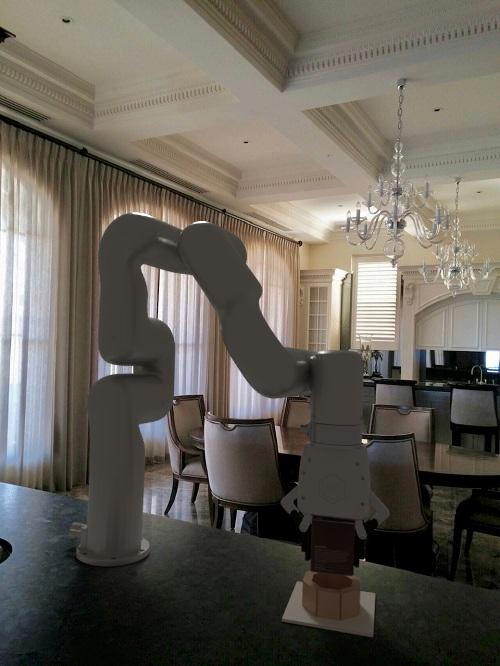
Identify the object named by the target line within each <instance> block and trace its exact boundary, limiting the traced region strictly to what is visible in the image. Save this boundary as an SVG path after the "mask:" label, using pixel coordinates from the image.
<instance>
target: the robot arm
mask: <svg viewBox="0 0 500 666" xmlns="http://www.w3.org/2000/svg"><path fill="white" fill-rule="evenodd" d="M97 253H98V255H97V256H98V260H97V261H98V262H97V264H98V273H99V286H100V287H99V302H98V303H99V305H98V307H99V308H98V330H97V331H98V334H97V335H98V337H97V342H98V343H97V347H98V353H99V355H100V357H101V358H102V360H103V361H105V363H107V364H109V365H114V366H119V367H120V366H121V367H132V372H131V373H128V372H127V373H125V372H124V373H113V374H109V375H108V374H107V375H105V376H102V377H101V378H99V379H98V380H96V381H95V382H94V383H93V385H92V386H91V388H90V389H89V391H88V395H87V399H86V411H87V417H88V422H89V423H88V424H89V431H90V434H89V435H90V454H89V455H90V456H89V478H88V481H89V482H88V497H87V498H88V499H87V515H86V516H87V517H86V519H87V520H86V524H85V523H82V522H77V521H76V522H75V521H74V522H72V523H71V525H70V527H69V530H68V534H67V535H68V537H69V538H73V539H79V540H80V542H79V544H78V546H77V547H76V551H75V555H76V559H78V560H79V561H80V562H82V563H84V564H85V565H86V564H87V565H89V566H95V567H119V566H126V565H130V564H133V563H134V564H135V563H136V562H139V561H140V560H143V559H145V558H146V557H147V556H148V555H149V554H150V552H151V551H150V550H151V548H150V547H151V544H150V542H149V541H148V540H147V539H146V538H144V537H142V536H143V517H144V516H143V515H144V512H143V511H144V495H145V494H144V493H145V491H144V490H145V472H146V471H145V469H146V445H145V441H144V437H143V434H142V433H141V428H140V425H143V424H149V423H150V424H151V423H155V422H158V421H160V420H162V419H164V418H165V417H166V416H167V415H168V414H169V412H170V411H171V410H172V407H173V403H174V399H175V397H174V396H175V384H176V383H175V380H176V378H175V377H176V376H175V375H176V342H175V341H176V340H175V337H174V334H173V332H172V330H171V329H170V326H168V324H167V323H166V322H164V321H163V320H161V319H159V318H155V317H151V316H150V317H149V315H148V314H149V313H148V310H149V309H148V304H149V303H148V301H149V300H148V299H149V291H148V285H147V282H146V278H145V276H144V273H143V270H142V266H145V265H146V266H148V267H151V268H155V269H157V270H158V269H159V270H162V271H165V272H169V273H173V274H179V275H188V276H192V277H193V279H194V280H195V282H196V283H197V284H198V286H199V287H200V289H201V290H202V292H203V294H204V295H205V296H206V298H207V300H208V302H209V303H210V305H211V307H213V309H214V310H215V313H216V315H217V317H218V326H219V330H220V335H221V337H222V342H223V344H224V346H225V349H226V351H227V353H228V354H229V356H230V358H231V359H232V361H233V363H234V365H236V367H237V370H239V371H240V374H241V375H242V377H243V378H244V379H245V381H246V382H247V384H249V386H250V387H251V388H252V390H254V391H255V392H256V393H257V394H259V395H260V396H262V397H264V398H268V399H272V400H274V399H276V400H277V399H284V398H293V397H298V396H300V397H301V396H310V413H309V414H310V417H309V420H310V421H309V422H308V423H306V424H300V427H299V433H300V434H301V435H302V434H303V435H305V436H307V438H308V441H306V442H304V443H303V446H302V452H301V457H300V463H299V464H300V465H299V472H298V474H299V475H298V481H297V482H298V485H297V486H295V487H294V488H292V490H290V491H289V492H288V493H287V494H286V495H285V496H283V498H282V499H281V500H280V506H282V508H283V510H284V511H286V513H288V515H289V516H290V519H292V521H293V522H294V523H295V524H296V525H297V526H298V528H299V531H300V532H301V545H300V546H301V547H300V548H301V549H300V550H301V553H304V561H306V562H309V561H311V528H312V517H313V516H318V517H327V518H336V519H345V520H353V521H355V528H354V530H355V532H354V569H357V568H358V569H359V568H360V561H365V557H366V556H365V555H366V554H365V553H366V539H367V537H368V536H369V535H370V534H371V533H372V532H373V531H375V530H376V529H377V528H378V527H379V526H380V525H381V524H382V523H383V522H384V521H385V520H387V519H388V518H389V517H390V515H391V514H390V512H391V511H390V510H389V508H388V507H387V506H386V505H385V504H384V502H382V501H381V499H380V498H379V497H378V496H377V495H376V494H375V493H374V491H372V490H371V472H370V460H369V454H368V449H367V446H366V445H365V444H363V417H364V415H363V412H364V411H363V409H364V406H363V404H364V367H365V366H364V357H363V356H362V355H361V354H360V353H359V352H357V351H353V350H342V349H340V350H338V349H329V350H328V349H327V350H326V349H322V350H319V351H314V350H307V349H303V348H297V347H296V348H295V347H289V346H284V345H283V344H282V342H281V341H280V340H279V338H278V337H277V336H276V334H275V333H274V331H273V329H272V328H271V327H270V325H269V324H268V322H267V321H266V319H265V317H264V315H263V313H262V310H261V306H260V299H261V298H262V295H263V286H262V284H261V283H260V281H259V279H258V278H257V277H256V276H255V274H254V272H253V271H252V270H251V268H250V267H249V266H248V264H247V262H248V252H247V249H246V245H245V244H244V242H243V241H242V239H241V238H240V237H239V236H238V235H236V234H235V233H233V232H230V231H229V230H227V229H225V228H223V227H221V225H220V226H219V224H218V225H217V224H215V223H213V222H210V221H196V222H193V223H190V224H188V225H187V226H185V227H184V229H181V228H179V227H178V226H175V225H172V224H171V223H168V222H166V221H164V220H162V219H159V218H158V217H156V216H152V215H149V214H147V213H143V212H142V213H141V212H126V213H123V214H121V215H119V216H118V217H116V218H114V219H113V220H112V221H111V222H110V223H109V225H108V226H107V227H106V228H105V230H104V232H103V233H102V236H101V239H100V242H99V245H98V252H97ZM239 371H238V372H239ZM294 501H297V502H296V503H297V506H296V504H295V503H294ZM370 507H372V508H373V509H374V510H375V511H376V512H375V514H374V515H372V516H371V517H370V518H368V517H369V515H370V514H369V513H370V511H371V510H370V509H371V508H370ZM367 518H368V519H367ZM365 519H367V520H366V521H365Z"/></svg>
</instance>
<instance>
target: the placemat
mask: <svg viewBox="0 0 500 666" xmlns="http://www.w3.org/2000/svg"><path fill="white" fill-rule="evenodd" d="M294 585H295V586H294V589H293V591H292V593H291V595H290V597H289V600H288V603H287V604H286V608H285V610H284V611H283V612H284V613H283V615H282V617H281V622H283V623H290V624H293V625H294V624H296V625H299V626H306V627H312V628H318V629H323V630H329V631H335V632H341V633H347V634H351V635H357V636H363V637H369V638H374V631H375V630H374V629H375V607H376V606H375V605H376V593H375V592H369V591H364V590H362V591H361V599H360V613H359V615H358V616H355V617H352V618H348V619H345V620H342V621H341V620H333V619H327V618H321V617H317V616H315V615H313V614H312V613H311V612H309V611H308V610H307V609H305V608H304V607H303V605H302V589H303V581H298V580H297V581H296V582H295V584H294Z"/></svg>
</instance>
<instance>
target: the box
mask: <svg viewBox="0 0 500 666" xmlns="http://www.w3.org/2000/svg"><path fill="white" fill-rule="evenodd" d="M311 524H312V528H311V559H310V570H309V571H311V572H317V573H326V574H336V575H344V576H353V575H354V576H355V573H354V571H355V570H354V569H355V566H354V538H355V521H353V520H345V519H336V518H327V517H318V516H313V517H312V521H311Z"/></svg>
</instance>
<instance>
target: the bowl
mask: <svg viewBox="0 0 500 666" xmlns="http://www.w3.org/2000/svg"><path fill="white" fill-rule="evenodd" d="M302 582H303V589H302V605H303V607H304V608H305V609H307V610H308V611H309V612H311V613H312V614H313V615H315V616H317V617H321V618H327V619H333V620H341V621H342V620H345V619H348V618H352V617H355V616H358V615H359V613H360V599H361V589H362V588H361V586H362V580H361V579H360V578H359V577H357V576H356V575H355V574H354V575H353V576H344V575H336V574H326V573H317V572H311V570H308V571H306V572H305V573H304V576H303V578H302Z"/></svg>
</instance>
